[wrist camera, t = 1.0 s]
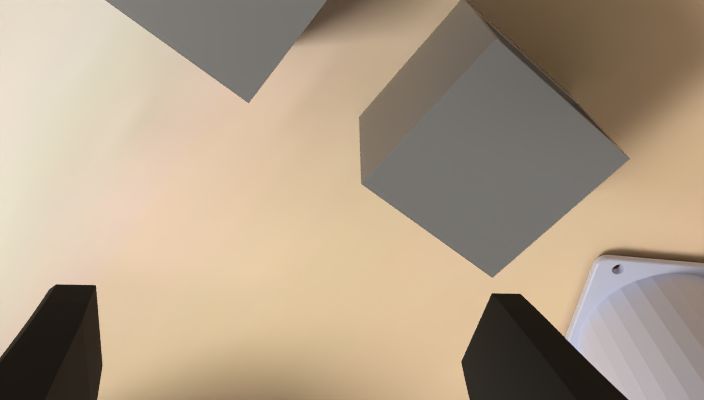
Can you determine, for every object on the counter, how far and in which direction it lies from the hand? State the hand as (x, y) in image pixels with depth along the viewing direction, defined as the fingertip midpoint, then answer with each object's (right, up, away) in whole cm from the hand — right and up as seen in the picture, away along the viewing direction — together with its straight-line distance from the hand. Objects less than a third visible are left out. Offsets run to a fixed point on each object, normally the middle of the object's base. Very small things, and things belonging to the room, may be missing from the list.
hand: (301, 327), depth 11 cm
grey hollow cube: (+5, +6, +12) cm, 14 cm away
